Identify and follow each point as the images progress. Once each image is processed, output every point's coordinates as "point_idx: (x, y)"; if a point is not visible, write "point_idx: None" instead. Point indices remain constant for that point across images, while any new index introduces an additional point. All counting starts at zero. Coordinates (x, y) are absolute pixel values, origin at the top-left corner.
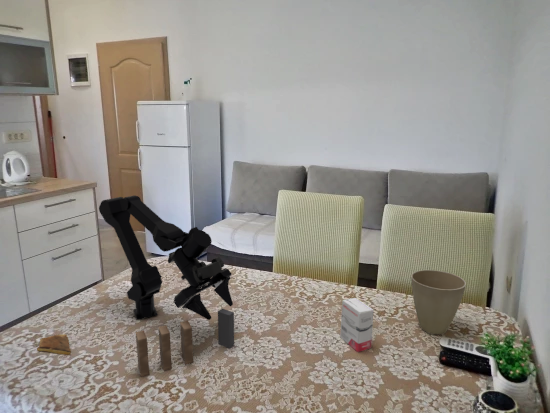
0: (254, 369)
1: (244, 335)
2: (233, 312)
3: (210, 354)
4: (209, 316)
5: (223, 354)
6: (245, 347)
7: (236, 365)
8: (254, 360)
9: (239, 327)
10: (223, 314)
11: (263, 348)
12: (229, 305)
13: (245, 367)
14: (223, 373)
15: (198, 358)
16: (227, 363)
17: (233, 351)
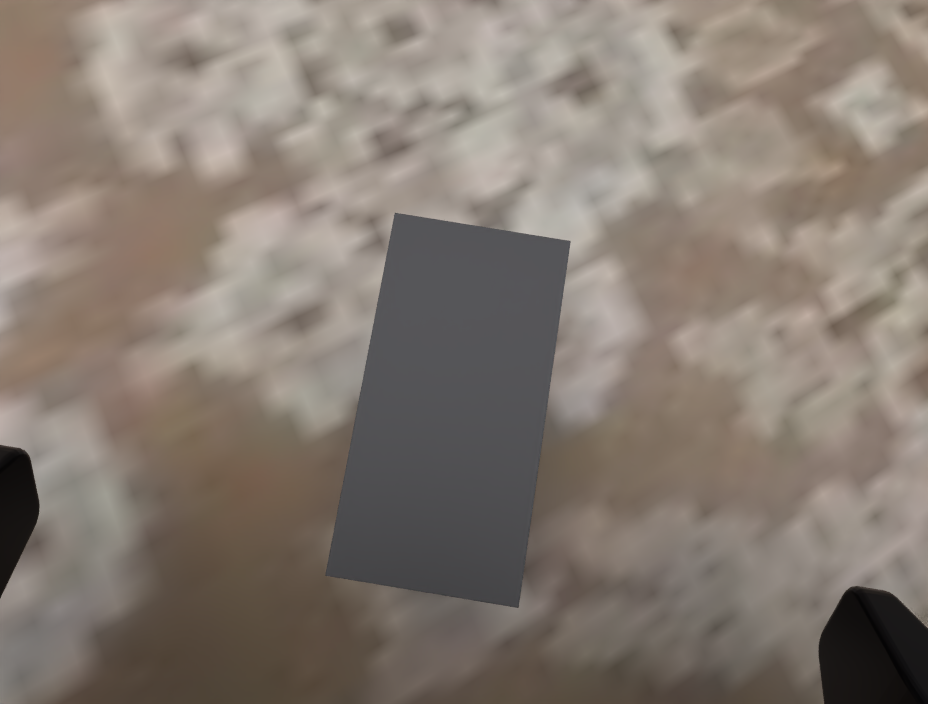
0: (716, 3)
1: (174, 363)
2: (405, 218)
3: (706, 544)
4: (924, 627)
5: (637, 402)
6: None
7: (744, 182)
8: (586, 58)
9: None
10: (544, 418)
11: (350, 59)
12: (22, 541)
13: (730, 90)
14: (918, 239)
15: None
16: (759, 281)
17: None
